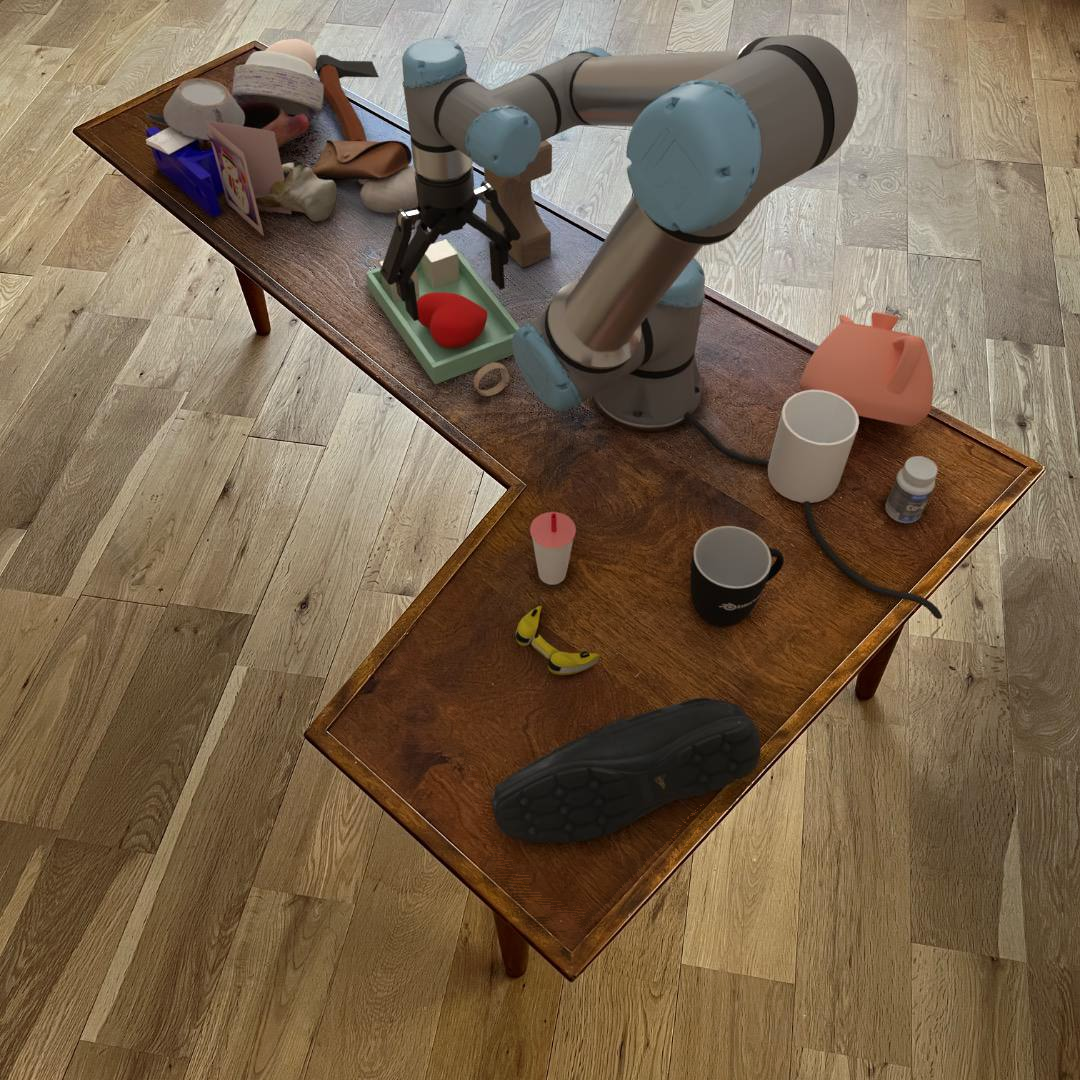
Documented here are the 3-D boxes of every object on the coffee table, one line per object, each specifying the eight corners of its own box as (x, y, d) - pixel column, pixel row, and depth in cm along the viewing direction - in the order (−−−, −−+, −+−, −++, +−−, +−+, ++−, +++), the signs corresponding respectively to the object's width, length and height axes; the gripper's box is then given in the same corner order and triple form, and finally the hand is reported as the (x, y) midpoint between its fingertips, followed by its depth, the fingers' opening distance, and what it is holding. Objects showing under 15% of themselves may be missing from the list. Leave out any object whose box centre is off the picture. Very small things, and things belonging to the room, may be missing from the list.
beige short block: (419, 294, 166) (416, 267, 162) (393, 303, 165) (389, 277, 161) (408, 279, 168) (405, 252, 164) (382, 288, 167) (378, 261, 163)
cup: (561, 597, 133) (562, 538, 124) (522, 580, 135) (521, 520, 125) (581, 566, 136) (584, 506, 126) (543, 549, 138) (544, 488, 128)
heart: (469, 309, 166) (408, 319, 162) (471, 276, 162) (408, 287, 158) (503, 348, 159) (440, 360, 155) (506, 315, 155) (442, 327, 151)
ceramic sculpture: (313, 184, 168) (235, 159, 172) (316, 236, 174) (241, 211, 178) (353, 161, 175) (277, 137, 180) (355, 212, 181) (282, 188, 185)
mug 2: (785, 513, 141) (803, 453, 132) (746, 447, 148) (760, 385, 139) (851, 495, 143) (873, 434, 133) (809, 431, 150) (827, 369, 140)
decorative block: (552, 257, 172) (553, 144, 156) (521, 270, 170) (520, 157, 155) (515, 220, 178) (513, 108, 162) (485, 232, 176) (480, 119, 160)
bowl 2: (224, 183, 184) (213, 140, 177) (210, 142, 191) (198, 99, 185) (317, 162, 187) (310, 120, 181) (300, 123, 194) (292, 81, 188)
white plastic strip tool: (235, 118, 184) (234, 112, 183) (168, 155, 175) (167, 149, 174) (213, 108, 185) (212, 102, 184) (146, 144, 177) (144, 137, 176)
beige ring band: (510, 392, 154) (509, 366, 150) (480, 404, 153) (478, 378, 149) (501, 380, 156) (501, 354, 152) (471, 391, 154) (470, 366, 150)
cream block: (459, 280, 168) (457, 253, 164) (433, 289, 167) (431, 262, 163) (448, 265, 170) (446, 238, 166) (422, 274, 169) (419, 247, 165)
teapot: (766, 393, 157) (790, 299, 154) (874, 415, 160) (898, 323, 157) (834, 411, 133) (863, 301, 130) (959, 438, 135) (990, 330, 133)
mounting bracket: (145, 130, 181) (177, 116, 183) (157, 168, 187) (188, 154, 189) (201, 179, 173) (233, 164, 175) (212, 217, 178) (243, 202, 181)
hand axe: (409, 156, 191) (371, 70, 209) (411, 138, 189) (372, 52, 206) (342, 157, 187) (308, 69, 205) (343, 139, 185) (309, 51, 202)
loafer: (506, 869, 110) (489, 816, 120) (774, 800, 115) (737, 754, 124) (489, 781, 107) (473, 733, 116) (766, 714, 111) (729, 673, 121)
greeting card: (222, 205, 180) (200, 122, 168) (261, 187, 183) (242, 105, 171) (259, 238, 175) (238, 155, 163) (298, 220, 178) (281, 137, 166)
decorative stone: (372, 228, 176) (368, 202, 172) (355, 197, 181) (350, 171, 177) (446, 209, 180) (444, 182, 176) (427, 179, 184) (425, 153, 180)
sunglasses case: (301, 177, 183) (303, 135, 182) (331, 183, 189) (333, 142, 187) (383, 179, 174) (385, 134, 172) (411, 184, 179) (413, 142, 178)
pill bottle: (902, 530, 140) (920, 487, 133) (876, 505, 142) (893, 462, 135) (929, 514, 141) (949, 471, 134) (903, 490, 144) (921, 447, 137)
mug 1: (705, 646, 129) (716, 598, 121) (670, 589, 134) (679, 539, 126) (793, 614, 132) (810, 564, 124) (756, 558, 137) (770, 508, 129)
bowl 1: (145, 95, 173) (147, 122, 177) (218, 125, 173) (219, 151, 177) (188, 59, 181) (189, 86, 185) (258, 88, 181) (258, 114, 185)
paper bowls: (340, 76, 194) (334, 122, 195) (261, 67, 197) (256, 112, 198) (305, 48, 179) (299, 99, 180) (220, 39, 182) (215, 89, 183)
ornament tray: (525, 350, 160) (524, 333, 157) (434, 384, 155) (433, 367, 153) (453, 259, 172) (452, 242, 169) (368, 289, 168) (365, 272, 165)
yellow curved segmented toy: (499, 640, 128) (507, 618, 126) (535, 621, 133) (542, 600, 131) (560, 692, 124) (568, 671, 122) (594, 671, 129) (603, 650, 127)
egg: (241, 59, 198) (292, 24, 199) (268, 102, 203) (317, 69, 205) (255, 63, 191) (308, 27, 193) (282, 108, 196) (333, 73, 198)
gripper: (515, 125, 145) (520, 257, 161) (341, 180, 137) (364, 312, 154) (543, 153, 140) (545, 285, 157) (364, 211, 133) (386, 343, 150)
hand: (455, 299), depth 156 cm, fingers open, 13 cm apart
